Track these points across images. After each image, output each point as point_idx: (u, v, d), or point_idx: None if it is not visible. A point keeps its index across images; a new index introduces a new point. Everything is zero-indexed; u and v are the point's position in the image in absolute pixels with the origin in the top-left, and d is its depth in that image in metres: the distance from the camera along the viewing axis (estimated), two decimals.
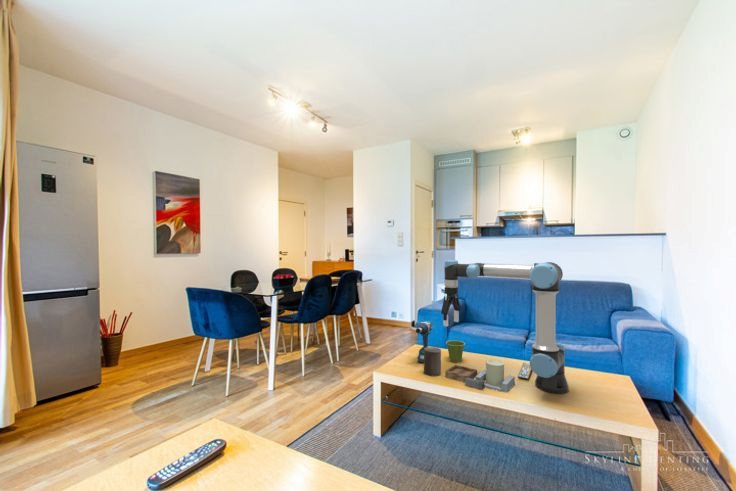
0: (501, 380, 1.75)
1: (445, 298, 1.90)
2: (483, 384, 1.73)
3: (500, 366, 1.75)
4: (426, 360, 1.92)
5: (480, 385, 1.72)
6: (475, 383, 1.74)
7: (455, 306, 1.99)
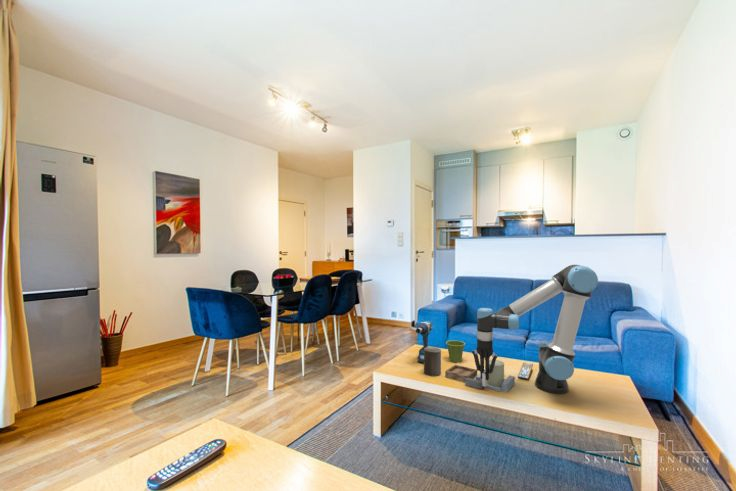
0: (501, 380, 1.75)
1: None
2: None
3: (500, 366, 1.75)
4: (426, 360, 1.92)
5: (480, 385, 1.72)
6: (475, 383, 1.74)
7: None
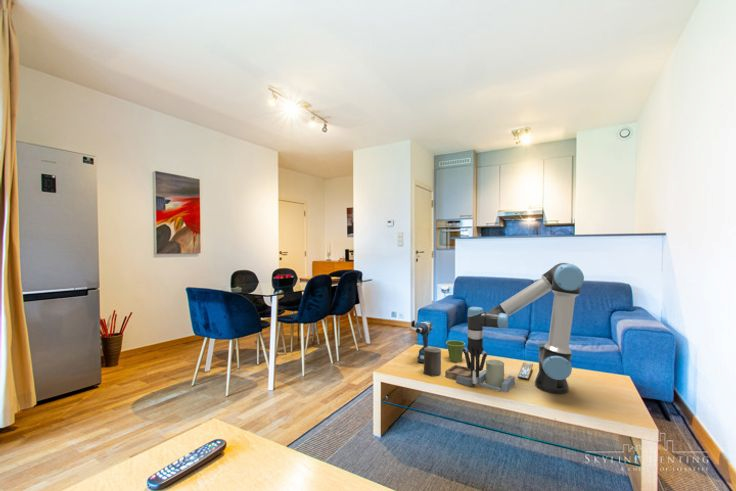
0: (501, 380, 1.75)
1: None
2: None
3: (500, 366, 1.75)
4: (426, 360, 1.92)
5: (470, 382, 1.75)
6: (466, 381, 1.77)
7: None
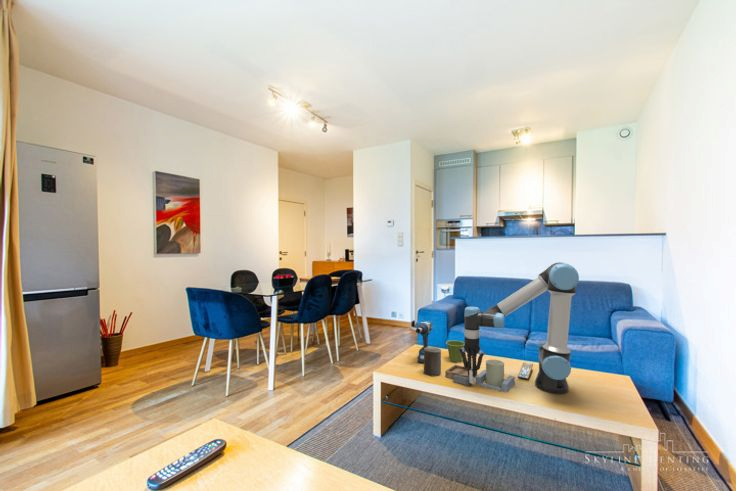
0: (501, 380, 1.75)
1: None
2: None
3: (500, 366, 1.75)
4: (426, 360, 1.92)
5: (467, 382, 1.76)
6: (463, 380, 1.78)
7: None
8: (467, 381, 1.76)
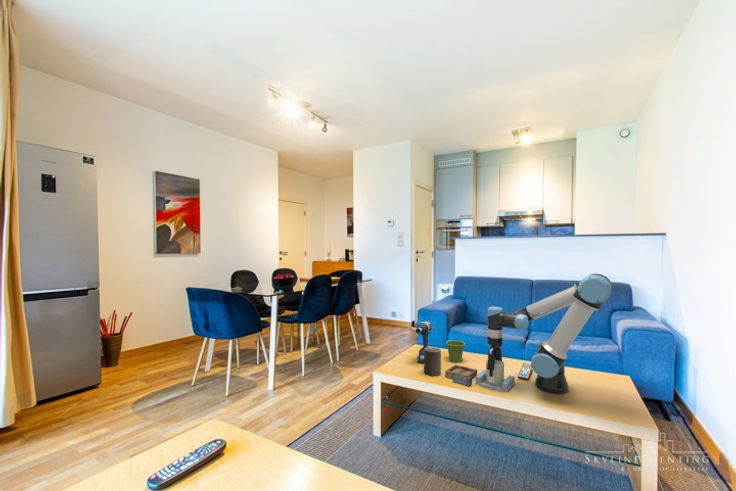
0: (501, 380, 1.75)
1: (490, 352, 1.74)
2: (470, 381, 1.77)
3: (500, 366, 1.75)
4: (426, 360, 1.92)
5: (467, 382, 1.76)
6: (463, 380, 1.78)
7: (497, 359, 1.82)
8: (467, 381, 1.76)
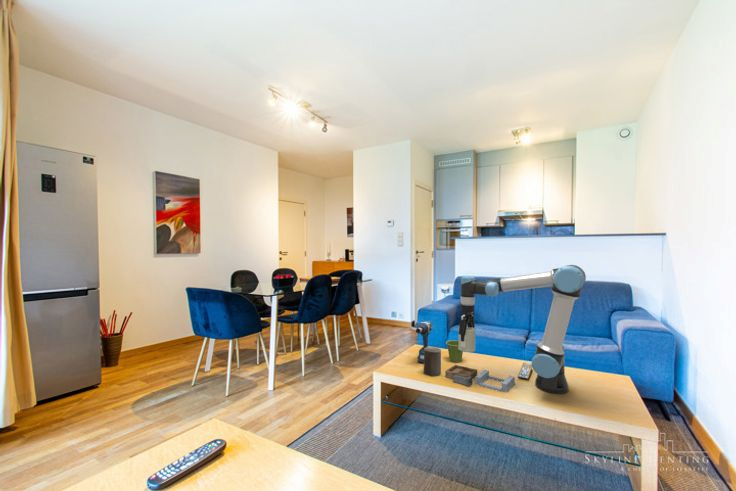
0: (472, 345, 1.84)
1: (461, 318, 1.82)
2: (470, 381, 1.77)
3: (471, 331, 1.83)
4: (426, 360, 1.92)
5: (467, 382, 1.76)
6: (463, 380, 1.78)
7: (470, 326, 1.90)
8: (467, 381, 1.76)
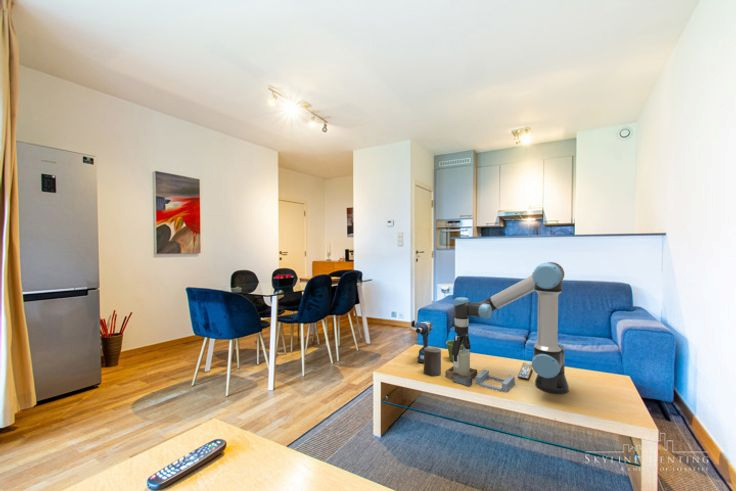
0: (466, 369, 1.85)
1: (455, 338, 1.84)
2: (470, 381, 1.77)
3: (465, 356, 1.85)
4: (426, 360, 1.92)
5: (467, 382, 1.76)
6: (463, 380, 1.78)
7: (465, 345, 1.93)
8: (467, 381, 1.76)
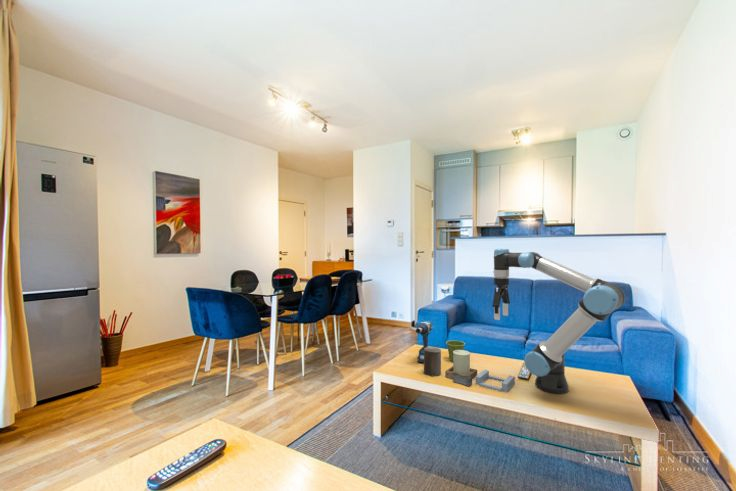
0: (466, 369, 1.85)
1: (496, 289, 1.76)
2: (470, 381, 1.77)
3: (465, 356, 1.85)
4: (426, 360, 1.92)
5: (467, 382, 1.76)
6: (463, 380, 1.78)
7: (504, 299, 1.85)
8: (467, 381, 1.76)
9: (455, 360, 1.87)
